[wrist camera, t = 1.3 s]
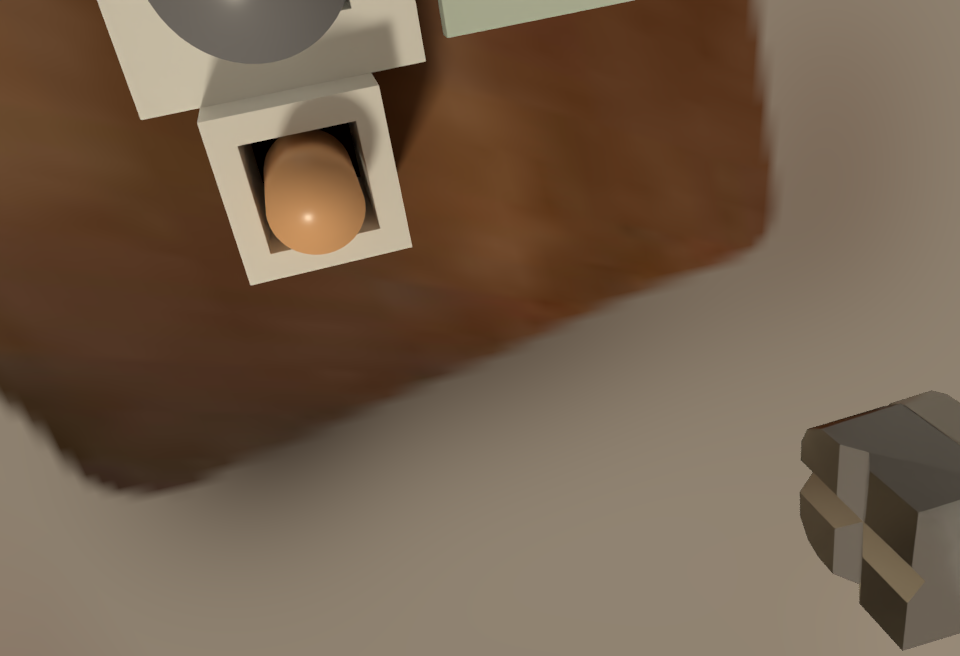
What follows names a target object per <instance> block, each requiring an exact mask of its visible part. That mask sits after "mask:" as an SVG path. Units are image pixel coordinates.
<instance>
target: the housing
mask: <svg viewBox="0 0 960 656" xmlns="http://www.w3.org/2000/svg"><path fill="white" fill-rule="evenodd" d="M97 1H98V4H99V7H100V10H101V12H102V15H103V18H104V21H105V23H106V26H107V29H108V32H109V34H110V37H111V40H112V43H113V45H114V48H115V51H116V53H117V56H118V59H119V62H120V64H121V67H122V70H123V73H124V75H125V78H126V81H127V84H128V86H129V89H130V92H131V95H132V97H133V100H134V103H135V105H136V108H137V111H138V114H139V116H140V119H141V120H144V119H149V118H153V117H158V116H163V115H168V114H173V113H178V112H183V111H187V110H192V109H197V108H200V111H199V116H198V121H197V124H198V127H199V130H200V133H201V136H202V139H203V142H204V145H205V148H206V152H207V155H208V158H209V161H210V164H211V167H212V170H213V173H214V176H215V179H216V182H217V185H218V188H219V191H220V194H221V197H222V200H223V203H224V206H225V209H226V212H227V215H228V218H229V221H230V224H231V227H232V230H233V233H234V237H235V240H236V243H237V246H238V249H239V252H240V255H241V258H242V261H243V264H244V267H245V270H246V273H247V276H248V279H249V282H250V285H255V284H259V283H263V282H267V281H271V280H276V279H280V278H284V277H288V276H292V275H297V274H301V273H305V272H309V271H313V270H318V269H322V268H326V267H330V266H334V265H339V264H343V263H347V262H351V261H355V260H360V259H364V258H368V257H372V256H376V255H381V254H385V253H389V252H393V251H397V250H402V249H406V248H410V247H412V243H411V239H410V234H409V229H408V224H407V219H406V214H405V209H404V205H403V200H402V195H401V190H400V185H399V180H398V175H397V171H396V166H395V161H394V156H393V151H392V146H391V141H390V137H389V132H388V127H387V122H386V117H385V112H384V107H383V103H382V98H381V93H380V88H379V84H378V83H377V81H376V80H375V78H374V77H373V75H372V72H377V71H382V70H387V69H392V68H396V67H401V66H406V65H411V64H416V63H421V62H426V59H425V53H424V48H423V42H422V36H421V30H420V25H419V19H418V13H417V7H416V1H415V0H345V2H344V5H343V7H342V9H341V11H340V13H339V15H338V17H337V18H336V20H335V21H334V23H333V24H332V25H331V27H330V28H329V29H328V31H327V32H326V33H325V34H324V35H323V36H322V37H321V38H320V39H319V40H318V41H316V42H315V43H314V44H313V45H311V46H310V47H309V48H307V49H305V50H304V51H302V52H300V53H299V54H296V55H294V56H292V57H289V58H287V59H283V60H280V61H276V62H271V63H263V64H244V63H237V62H231V61H227V60H223V59H220V58H217V57H214V56H212V55H209V54H207V53H205V52H203V51H201V50H199V49H197V48H196V47H194V46H192V45H191V44H189V43H188V42H186V41H185V40H184V39H182V38H181V37H179V36H178V35H177V34H176V33H175V32H174V31H173V30H172V29H171V28H169V27H168V26H167V24H166V23H165V22H164V21H163V20H162V19H161V18H160V17H159V15H158V14H157V13H156V11H155V10H154V8H153V7H152V6H151V4H150V3H149V1H148V0H97ZM343 123H348V124H349V128H350V132H351V137H352V141H353V145H354V150H355V154H356V158H357V163H358V167H359V171H360V176H361V177H357V178H358V181H359V184H360V187H361V189H362V192H363V195H364V199H365V207H366V211H365V218H364V222H363V224H362V227H361V229H360V231H359V232H358V234H357V235H356V236H355V238H354V239H353V240H352V241H351V242H350V243H348V244H347V245H346V246H344V247H342V248H341V249H339V250H337V251H334V252H331V253H327V254H321V255H311V254H304V253H301V252H297V251H295V250H293V249H291V248H289V247H287V246H286V245H285V244H283V243H282V242H281V241H280V240H279V239H278V238H277V237H276V236H275V234H274V233H273V232H272V230H271V228H270V226H269V223H268V221H267V216H266V207H265V189H264V185H263V182H262V179H261V175H260V172H259V169H258V165H257V162H256V159H255V155H254V152H253V149H252V145H251V143H255V142H259V141H264V140H269V139H273V138H278V137H283V136H287V135H292V134H297V133H301V132H306V131H311V130H315V129H320V128H325V127H329V126H334V125H339V124H343Z"/></svg>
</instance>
